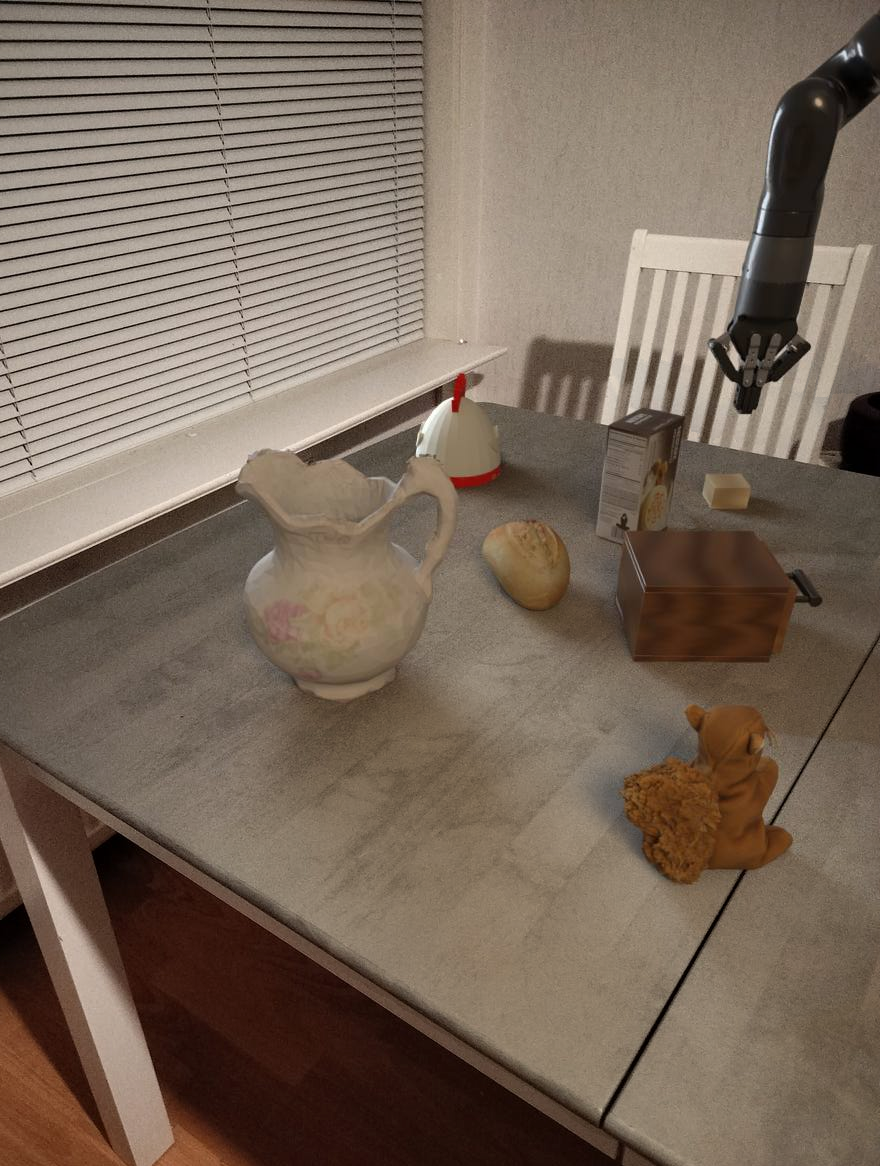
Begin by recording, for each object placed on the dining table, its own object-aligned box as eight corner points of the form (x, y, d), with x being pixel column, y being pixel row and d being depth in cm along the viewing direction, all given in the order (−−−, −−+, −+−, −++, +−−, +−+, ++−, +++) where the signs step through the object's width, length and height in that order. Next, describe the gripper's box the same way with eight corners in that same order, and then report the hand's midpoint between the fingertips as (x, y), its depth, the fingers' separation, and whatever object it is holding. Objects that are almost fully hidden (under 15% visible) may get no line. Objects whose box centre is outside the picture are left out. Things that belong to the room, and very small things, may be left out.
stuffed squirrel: (798, 845, 71) (841, 723, 64) (687, 929, 65) (720, 804, 57) (700, 778, 78) (728, 661, 71) (591, 848, 71) (609, 727, 64)
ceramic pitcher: (434, 621, 103) (429, 416, 90) (473, 711, 86) (473, 474, 74) (253, 642, 100) (223, 433, 88) (257, 739, 83) (221, 498, 71)
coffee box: (627, 513, 124) (643, 405, 114) (668, 526, 120) (687, 415, 111) (593, 536, 118) (607, 423, 109) (634, 550, 114) (652, 435, 105)
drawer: (785, 598, 102) (801, 540, 97) (820, 653, 92) (839, 591, 88) (635, 597, 103) (644, 539, 98) (654, 651, 93) (665, 590, 89)
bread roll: (532, 552, 114) (536, 497, 110) (587, 607, 103) (594, 549, 98) (466, 564, 112) (467, 509, 108) (514, 622, 100) (518, 563, 96)
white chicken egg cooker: (505, 456, 142) (510, 366, 134) (494, 490, 131) (498, 394, 123) (424, 450, 145) (423, 362, 137) (406, 483, 134) (404, 389, 126)
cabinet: (736, 601, 103) (753, 530, 98) (769, 662, 93) (790, 586, 87) (614, 601, 104) (624, 530, 98) (633, 661, 93) (645, 585, 88)
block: (734, 505, 125) (741, 473, 122) (744, 520, 121) (751, 487, 118) (699, 505, 125) (706, 473, 123) (708, 520, 121) (715, 487, 118)
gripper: (728, 280, 101) (701, 422, 110) (842, 279, 100) (804, 422, 110) (711, 267, 107) (686, 403, 117) (817, 266, 106) (783, 402, 116)
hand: (743, 412), depth 113 cm, fingers closed
